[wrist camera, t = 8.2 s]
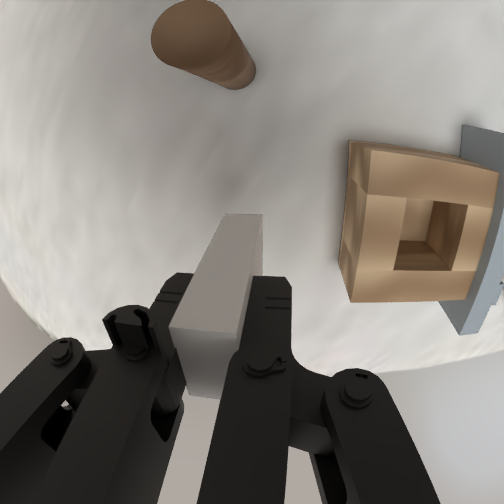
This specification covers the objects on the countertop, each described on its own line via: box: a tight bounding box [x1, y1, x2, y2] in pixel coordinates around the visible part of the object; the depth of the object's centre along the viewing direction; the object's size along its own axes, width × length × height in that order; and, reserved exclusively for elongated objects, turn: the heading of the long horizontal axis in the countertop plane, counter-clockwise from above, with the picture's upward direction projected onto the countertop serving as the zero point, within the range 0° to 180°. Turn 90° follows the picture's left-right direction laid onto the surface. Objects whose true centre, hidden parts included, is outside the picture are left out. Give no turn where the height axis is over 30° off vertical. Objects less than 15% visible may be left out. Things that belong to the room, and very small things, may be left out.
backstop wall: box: [438, 125, 504, 335], centre depth 16 cm, size 14×5×6 cm, turn 1°
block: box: [338, 140, 500, 302], centre depth 17 cm, size 9×9×5 cm
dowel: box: [151, 0, 256, 90], centre depth 11 cm, size 3×3×10 cm
